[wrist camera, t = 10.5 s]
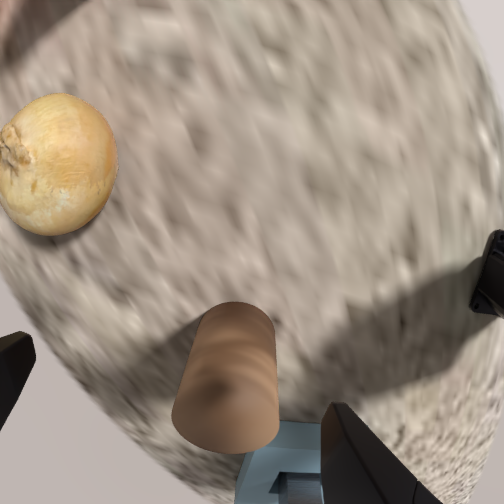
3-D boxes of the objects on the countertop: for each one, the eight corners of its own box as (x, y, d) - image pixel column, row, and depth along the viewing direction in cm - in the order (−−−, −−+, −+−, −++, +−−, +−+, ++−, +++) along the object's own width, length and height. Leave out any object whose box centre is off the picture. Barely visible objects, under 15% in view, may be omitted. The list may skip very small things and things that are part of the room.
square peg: (316, 452, 26) (325, 522, 18) (306, 467, 27) (312, 533, 19) (285, 450, 26) (289, 522, 18) (277, 466, 27) (279, 533, 19)
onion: (157, 143, 17) (101, 146, 11) (93, 244, 20) (31, 289, 13) (70, 78, 16) (-2, 63, 9) (19, 177, 18) (-52, 197, 11)
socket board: (367, 425, 24) (375, 449, 22) (324, 487, 28) (326, 508, 25) (257, 417, 24) (256, 445, 21) (235, 482, 28) (234, 504, 25)
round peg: (282, 309, 21) (291, 396, 13) (266, 369, 22) (266, 459, 15) (202, 294, 20) (173, 377, 13) (194, 357, 22) (170, 443, 15)
